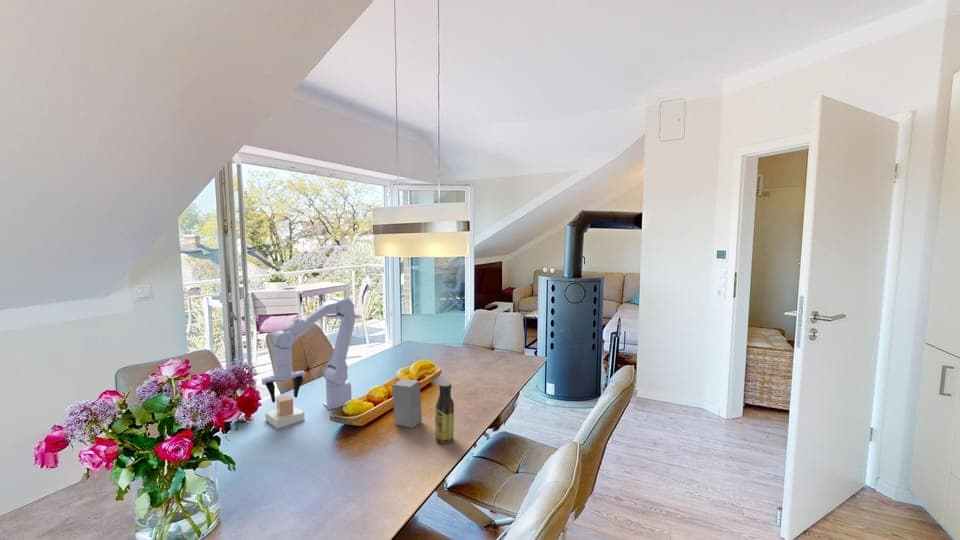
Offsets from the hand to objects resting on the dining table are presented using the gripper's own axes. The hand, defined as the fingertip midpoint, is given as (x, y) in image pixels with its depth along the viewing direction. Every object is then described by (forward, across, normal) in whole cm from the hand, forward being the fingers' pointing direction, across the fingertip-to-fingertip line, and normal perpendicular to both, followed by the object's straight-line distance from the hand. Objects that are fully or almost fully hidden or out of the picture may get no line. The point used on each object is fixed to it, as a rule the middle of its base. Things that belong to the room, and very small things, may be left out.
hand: (284, 399), depth 154 cm
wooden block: (+5, 0, 0) cm, 5 cm away
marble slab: (+8, 0, 0) cm, 8 cm away
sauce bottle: (+8, +39, -49) cm, 63 cm away
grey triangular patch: (+8, -12, +10) cm, 18 cm away
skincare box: (+8, +35, -30) cm, 47 cm away
